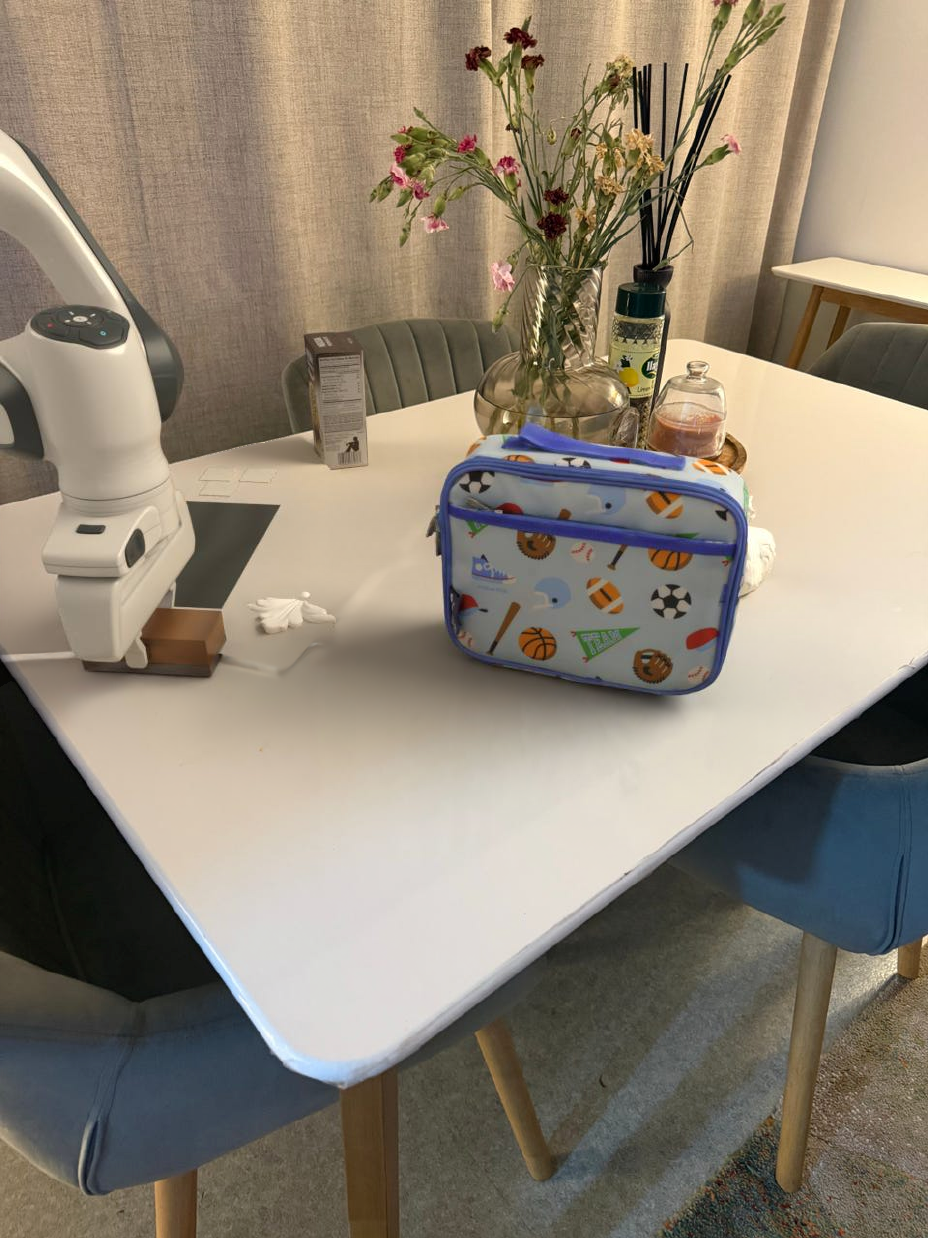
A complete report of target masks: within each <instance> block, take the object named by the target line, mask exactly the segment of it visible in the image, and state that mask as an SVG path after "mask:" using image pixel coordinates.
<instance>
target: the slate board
mask: <svg viewBox="0 0 928 1238" xmlns="http://www.w3.org/2000/svg"><path fill="white" fill-rule="evenodd" d="M186 503H187V506H188V510H189V513H190V517H191V521H192V525H193V529H194V534H195V551H194V553H193V555H192V556H191V558H190V559H189V561H188V562H187V564H186V565H185V567H184V568H183V570H182V571H181V572H180V574H179V575H178V577H177V578H176V580H175V582H176V591H175V601H174V608H175V607H176V608H177V607H178V608H196V609H215V610H216V609H217V610H222V609H223V608H224V606H225V604H226V602H227V600H229V599H228V598H229V597H230V595H231V593H232V591H234V588H235V586H236V584H237V583H238V581H239V579H240V577H241V576H242V574H243V572H244V570H245V569H246V567H247V566H248V563H249V562H250V560H251V558H252V556H253V554H254V553H255V552H256V549H257V548H258V546H259V544H260V542H261V541H262V539H263V537H264V535H265V533H266V532H267V530H268V528H269V526H270V524H271V523H272V521H273V519H274V518H275V516H276V514H277V512H278V511H279V509H280V507H281V504H271V503H270V504H269V503H248V502H247V503H246V502H225V501H223V502H221V501H199V500H197V501H196V500H186Z"/></svg>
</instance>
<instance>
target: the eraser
mask: <svg viewBox="0 0 928 1238" xmlns="http://www.w3.org/2000/svg"><path fill="white" fill-rule="evenodd" d="M141 631H142V636H141V637H139V638H140V640H141V641H142V643H146V644H149V647H150V652H151V656H152V657H151V658H150V660H149V662H148V663H147V665H146V667H145V668H131V667H129V666H128V665H127V663H126V659H125V655H124V656H123V658H122V659H121V660H120V661H118V662H96V661H85V660H82V659H81V663H82V667H83V670H84V671H97V672H98V671H99V672H115V673H134V674H135V673H138V674H157V675H159V674H160V675H175V676H176V675H177V676H178V675H179V676H198V677H212V676H213V674H214V672H215V670H216V668H217V666H218V665H219V663H220V662H221V659H222V657H223V655H224V654H223V653H221V652H222V650H223V648H224V646H225V644H226V642H227V635H226V629H225V624H224V618H223V611H222V610H216V609H215V610H214V609H190V608H174V609H171V608H156V609H155V611H154V612H153V614H152V615H151V616H150V618H149V619H148V621H147V622H146V624H145V625H144V627H143V628H142V630H141Z"/></svg>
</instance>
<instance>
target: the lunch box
mask: <svg viewBox="0 0 928 1238" xmlns="http://www.w3.org/2000/svg"><path fill="white" fill-rule="evenodd" d="M749 496H750V494H749V491H748V487H747V484H746V482H745V480H744V479H743V478H742V476H741V475H739V473H738V472H736V471H735V470H734V469H732V468H730V467H729V466H726V465H723V464H721V463H718V462H715V461H711V460H708V459H702V458H700V457H699V458H698V457H694V456H689V455H688V456H687V455H681V454H676V453H669V452H664V451H663V452H662V451H656V450H655V451H654V450H646V449H640V448H633V447H632V448H631V447H624V446H616V445H607V444H599V443H593V442H587V441H583V440H578V439H575V438H572V437H568V436H566V435H563V434H560V433H557V432H555V431H551V430H549V429H547V428H545V427H543V426H541V425H540V424H537V423H536V422H535V423H534V422H529V421H528V422H525V423H524V424H523V426H522V427H521V428H520V430H519V432H518V434H508V433H502V434H501V433H500V434H498V433H497V434H489V435H485V436H483V437H480V438H478V439H477V440H475V441H474V442H473V443H472V444H471V445H470V447H469V448H468V450H467V452H466V454H465V458H464V459H463V461H461V462H460V463H458V464H456V465H455V466H453V468H452V467H451V469H450V471H448V473H447V475H446V478H445V480H444V482H443V485H442V488H441V492H440V496H439V504H435V506H434V507H435V513H434V514H435V515H433V516H432V517H431V520H430V522H429V525H428V528H427V530H426V533H425V538H426V539H427V538H429V537H432V536H433V535H434V533H435V537H434V538H435V539H434V543H435V544H434V545H435V557H441V558H440V559H441V560H440V561H441V580H442V598H443V600H442V601H443V615H444V623H445V627H446V631H447V634H448V636H449V638H450V640H451V642H452V643H453V644H454V645H455V646H456V647H457V648H458V649H459V650H460V651H462V652H463V653H464V654H465V655H467V656H469V657H472V658H473V659H476V660H478V661H481V662H484V663H486V664H489V665H491V666H495V667H503V668H510V669H515V670H521V671H526V672H531V673H535V674H540V675H545V676H549V677H554V678H559V679H563V680H567V681H571V682H577V683H582V684H591V685H598V686H602V687H603V686H604V687H610V688H616V689H624V690H629V691H630V690H631V691H637V692H645V693H651V694H653V695H665V696H686V695H690V694H695V693H697V692H700V691H703V690H705V689H707V688H709V687H710V686H712V685H713V684H714V683H715V682H716V681H717V679H718V677H719V676H720V674H721V672H722V670H723V666H724V664H725V660H726V656H727V653H728V649H729V647H730V643H731V640H732V637H733V633H734V630H735V626H736V622H737V618H738V617H737V616H738V612H739V611H738V610H739V605H740V601H741V596H742V595H741V591H742V586H743V581H744V577H745V571H746V565H747V552H748V526H749V525H748V523H747V521H748V516H747V515H748V508H749Z"/></svg>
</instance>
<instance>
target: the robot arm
mask: <svg viewBox="0 0 928 1238" xmlns="http://www.w3.org/2000/svg"><path fill="white" fill-rule="evenodd" d="M0 231H2V232H4V233H6V234H8V235H9V236H11V237H12V238H14V239H15V240H17V241H18V242H19V243H20V244H21V245H22V246H23V247H24V248H26V249H27V250H28V252H29V253H30V254H31V256H32V257H33V259H34V260H35V261H36V262H37V264H38V266H39V267H40V268H41V269H42V272H44V274H45V275H46V276H47V278H48V279H49V281H50V282H51V284H52V285H53V287H54V288H55V290H56V291H57V293H59V295H60V297H61V298H62V300H63V301H64V303H66V304H65V305H64V304H63V305H57V306H53V307H49V308H46V309H43V310H41V311H39V312H37V313H36V314H34V315H33V316H32V317H30V319H29V320H27V323H26V325H25V327H24V331H23V332H21V333H19V334H18V335H15V336H13V337H9V338H6V339H3V340H0V452H1V453H4V454H6V455H8V456H11V457H14V458H17V459H20V460H24V461H29V462H34V463H35V462H36V463H37V462H41V461H47V462H51V463H52V464H53V465H54V466H55V468H56V470H57V475H58V489H59V492H60V496H61V499H62V501H61V502H60V503H59V505H58V508H57V513H56V518H55V521H54V524H53V526H52V529H51V531H50V534H49V536H48V538H47V540H46V542H45V544H44V546H43V548H42V551H41V560H42V565H43V568H44V570H45V572H46V573H47V574H50V575H57V576H56V580H55V587H54V592H55V601H56V605H57V609H58V612H59V616H60V620H61V623H62V627H63V630H64V633H65V636H66V639H67V642H68V644H69V647H70V650H71V651H72V653H73V654H74V655H75V656H76V657H77V658H78V659H80V660H81V661H82V660H85V661H96V662H118V661H120V660H121V659H122V658H123V656H124V655H125V659H126V663H127V665H128V666H129V667H131V668H145V667H146V665H147V663H148V662H149V660H150V658H151V657H152V656H151V652H150V647H149V644H146V643H142V641H141V640H140V638H139V637H141V636H142V631H141V630H142V628H143V627H144V625H145V624H146V622H147V621H148V619H149V618H150V616H151V615H152V614H153V612H154V611H155V609H156V608H171V609H175V607H174V601H175V591H176V582H175V580H176V578H177V577H178V575H179V574H180V572H181V571H182V570H183V568H184V567H185V565H186V564H187V562H188V561H189V559H190V558H191V556H192V555H193V553H194V551H195V534H194V529H193V525H192V521H191V517H190V513H189V510H188V506H187V503H186V501H187V499H186V497H185V495H184V493H183V492H182V491H181V490H179V489H176V487H175V483H174V478H173V475H172V470H171V466H170V464H169V461H168V459H167V457H166V456H165V453H164V451H163V449H162V444H161V432H162V423H165V422H166V421H167V420H169V418H171V416H172V414H173V413H174V411H175V409H176V407H177V405H178V403H179V400H180V398H181V395H182V392H183V388H184V382H185V367H184V363H183V360H182V357H181V355H180V352H179V350H178V348H177V346H176V345H175V343H174V341H173V339H171V337H170V336H169V335H168V333H167V332H166V330H164V328H163V327H162V326H161V325H160V323H158V321H156V319H155V318H154V317H153V316H152V315H151V314H150V313H149V311H147V310H146V309H145V307H144V306H143V305H142V304H141V303H140V302H139V300H138V299H137V298H136V297H135V295H134V294H133V292H132V291H131V290H130V288H129V287H128V285H127V284H126V282H125V281H124V279H123V278H122V277H121V275H120V274H119V271H117V268H115V266H114V264H113V263H112V261H111V260H110V259H109V257H108V256H107V254H106V253H105V251H104V249H102V247H101V245H100V244H99V243H98V241H97V240H96V238H95V237H94V235H93V234H92V232H91V230H90V229H89V228H88V227H87V225H86V223H85V222H84V221H83V219H82V218H81V216H80V214H79V213H78V211H76V209H75V207H74V206H73V205H72V203H71V202H70V200H69V199H68V197H67V195H66V194H65V193H64V191H63V190H62V188H61V187H60V186H59V184H58V183H57V181H56V180H55V178H54V177H53V176H52V174H51V173H50V172H49V170H48V169H47V168H46V166H45V165H44V164H43V163H42V161H41V160H40V159H39V158H38V156H37V155H36V154H35V153H34V152H33V150H31V148H29V147H28V146H27V145H26V144H25V143H24V142H22V141H20V140H19V139H17V138H15V137H14V136H13V135H9V134H8V133H6V132H4V130H2V129H1V128H0Z"/></svg>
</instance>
